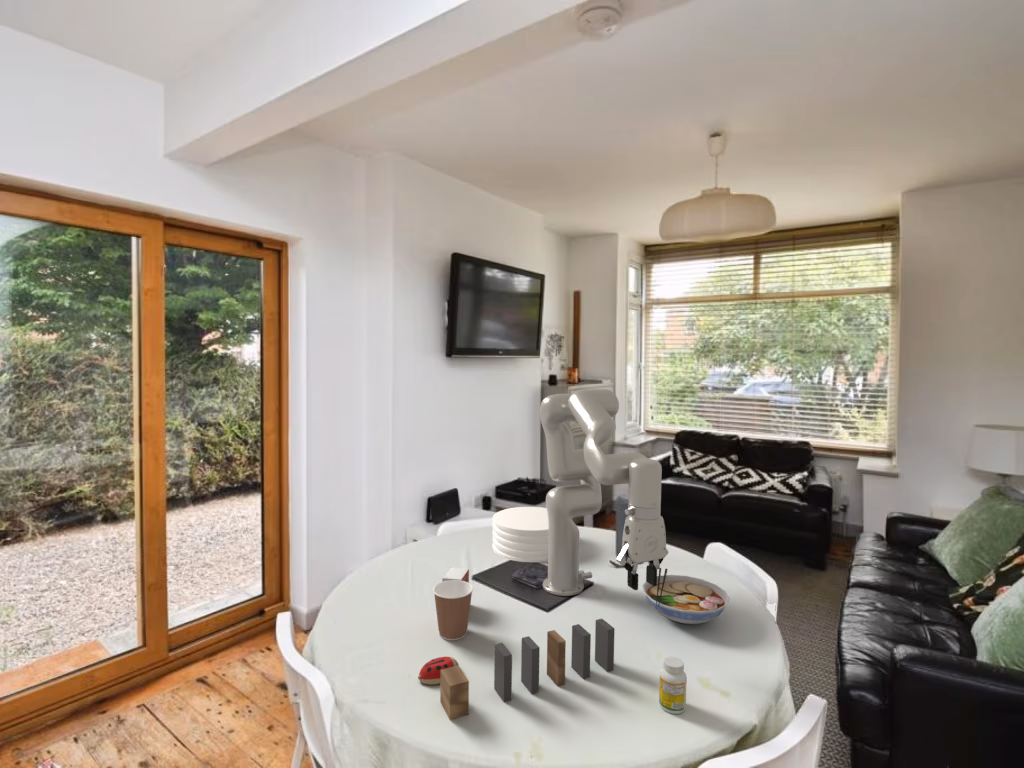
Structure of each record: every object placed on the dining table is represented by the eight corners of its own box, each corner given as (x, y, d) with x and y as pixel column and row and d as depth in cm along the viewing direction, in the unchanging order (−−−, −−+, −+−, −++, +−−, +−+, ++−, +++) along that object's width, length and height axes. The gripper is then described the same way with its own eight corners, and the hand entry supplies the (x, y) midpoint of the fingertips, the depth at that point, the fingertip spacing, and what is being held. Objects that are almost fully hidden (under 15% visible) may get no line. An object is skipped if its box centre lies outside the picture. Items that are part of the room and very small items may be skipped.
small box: (461, 617, 150) (461, 579, 149) (441, 615, 151) (441, 578, 150) (469, 604, 158) (469, 568, 157) (450, 602, 159) (450, 566, 158)
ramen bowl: (729, 649, 135) (730, 617, 135) (635, 631, 143) (636, 601, 143) (727, 605, 159) (728, 577, 158) (646, 592, 167) (647, 565, 166)
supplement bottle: (679, 718, 110) (680, 672, 109) (654, 707, 113) (655, 662, 113) (689, 705, 114) (691, 660, 113) (665, 694, 117) (666, 651, 117)
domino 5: (601, 659, 130) (602, 618, 130) (613, 670, 126) (614, 628, 125) (594, 660, 130) (595, 620, 129) (607, 672, 125) (608, 630, 125)
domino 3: (553, 672, 125) (554, 630, 124) (564, 684, 120) (565, 640, 120) (546, 674, 124) (547, 631, 124) (557, 686, 120) (558, 642, 119)
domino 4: (577, 665, 128) (578, 624, 127) (589, 677, 123) (590, 634, 123) (571, 667, 127) (572, 625, 126) (583, 679, 122) (583, 636, 122)
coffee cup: (479, 627, 145) (479, 583, 144) (463, 647, 135) (463, 600, 134) (443, 620, 148) (444, 577, 147) (425, 639, 138) (425, 593, 137)
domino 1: (501, 686, 119) (502, 642, 119) (511, 700, 115) (512, 654, 114) (494, 688, 119) (494, 644, 118) (503, 702, 114) (504, 656, 113)
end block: (458, 697, 116) (458, 665, 115) (468, 714, 110) (468, 681, 110) (440, 702, 114) (440, 669, 114) (449, 719, 109) (449, 686, 108)
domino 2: (528, 679, 122) (528, 636, 121) (538, 692, 118) (539, 647, 117) (521, 681, 121) (521, 637, 121) (531, 694, 117) (532, 649, 116)
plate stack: (490, 536, 215) (490, 507, 214) (560, 534, 218) (560, 506, 217) (495, 564, 187) (495, 531, 187) (575, 561, 190) (576, 529, 190)
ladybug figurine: (465, 677, 123) (465, 661, 123) (425, 692, 118) (425, 676, 117) (451, 662, 129) (451, 648, 128) (412, 676, 123) (412, 661, 123)
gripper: (624, 520, 123) (622, 599, 124) (682, 511, 130) (680, 586, 131) (605, 511, 130) (603, 586, 131) (661, 503, 137) (659, 574, 138)
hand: (642, 585), depth 131 cm, fingers open, 4 cm apart
